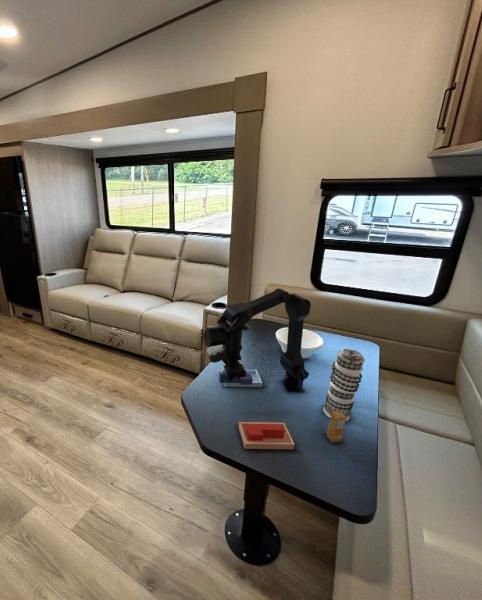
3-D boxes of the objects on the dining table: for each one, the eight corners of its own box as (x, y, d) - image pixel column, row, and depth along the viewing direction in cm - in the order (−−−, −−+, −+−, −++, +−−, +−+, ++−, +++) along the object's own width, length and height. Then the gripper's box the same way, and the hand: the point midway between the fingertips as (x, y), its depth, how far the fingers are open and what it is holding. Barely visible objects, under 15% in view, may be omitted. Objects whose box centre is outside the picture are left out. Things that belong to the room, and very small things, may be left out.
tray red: (283, 427, 106) (284, 422, 106) (293, 449, 98) (294, 444, 97) (238, 426, 107) (239, 422, 106) (244, 448, 98) (245, 443, 97)
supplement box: (325, 435, 103) (331, 410, 100) (335, 434, 104) (341, 410, 100) (331, 443, 100) (337, 418, 97) (341, 442, 101) (348, 417, 97)
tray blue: (255, 373, 135) (256, 369, 135) (262, 387, 127) (262, 382, 126) (220, 373, 136) (220, 369, 135) (224, 386, 127) (224, 382, 126)
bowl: (323, 348, 155) (326, 333, 152) (317, 369, 139) (320, 353, 136) (279, 337, 166) (281, 323, 163) (268, 355, 149) (270, 340, 146)
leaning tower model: (321, 401, 119) (335, 343, 110) (349, 408, 115) (366, 349, 106) (321, 417, 111) (336, 355, 102) (351, 425, 107) (369, 362, 98)
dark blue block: (220, 384, 113) (221, 376, 112) (218, 378, 117) (219, 370, 115) (252, 384, 113) (253, 376, 112) (249, 378, 117) (250, 370, 115)
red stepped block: (280, 432, 104) (282, 423, 102) (284, 441, 100) (286, 432, 99) (246, 431, 104) (247, 423, 103) (248, 440, 100) (250, 431, 99)
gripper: (206, 329, 118) (204, 364, 123) (213, 355, 100) (210, 395, 106) (235, 329, 117) (232, 364, 123) (248, 355, 100) (244, 395, 106)
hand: (229, 379), depth 115 cm, fingers closed on dark blue block, 2 cm apart
